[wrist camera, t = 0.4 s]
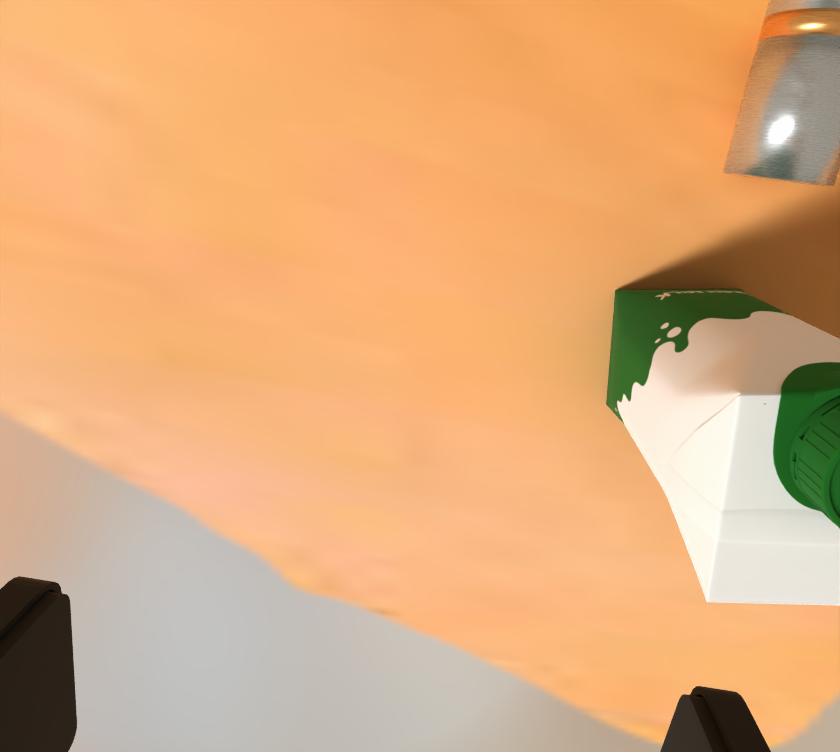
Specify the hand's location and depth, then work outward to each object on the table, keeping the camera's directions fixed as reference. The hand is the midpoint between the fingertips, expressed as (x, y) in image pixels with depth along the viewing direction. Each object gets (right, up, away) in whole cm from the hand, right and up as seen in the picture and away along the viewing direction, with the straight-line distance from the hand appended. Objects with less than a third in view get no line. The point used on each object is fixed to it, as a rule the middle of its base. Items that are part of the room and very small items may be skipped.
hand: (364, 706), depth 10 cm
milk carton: (+16, +7, +28) cm, 33 cm away
